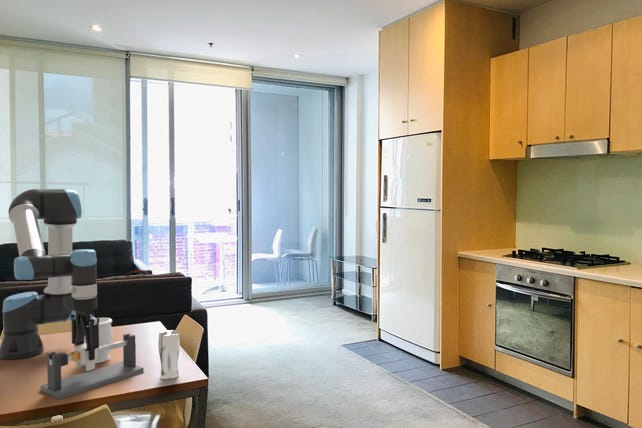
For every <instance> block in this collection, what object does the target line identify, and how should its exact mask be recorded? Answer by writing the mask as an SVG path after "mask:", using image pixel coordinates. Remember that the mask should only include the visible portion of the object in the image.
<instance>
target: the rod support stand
mask: <svg viewBox="0 0 642 428" xmlns="http://www.w3.org/2000/svg"><path fill="white" fill-rule="evenodd" d="M127 339H128V345H126V346H123V347H122V348H123V349H122V351H123V353H122V355H123V358H122V359H123V361H120V362H116V363H113V364H109V365H107V366H102V367H100V368H95V369H92V370H89V371H86V372H83V373H80V374H76V375H75V374H74V375H72V376H69V377H66V378H62V366H61V354H59V353H56V351H52V352H48V353H46V354H47V355H46V356H47V361H46V362H47V363H46V365H47V366H46V367H47V369H46V370H47V383H45V384H42V385H40V386H39V389H40V390H39V391H41V392H43V393H45V394H47V395H49V396H51V397H53V398H56V399H58V400H62V399H65V398H67V397H72V396H74V395H77V394H81V393H83V392H86V391H90V390H93V389H97V388H98V387H103V386H105V385H108V384H110V383H114V382H118V381H121V380H123V379H126V378H130V377H133V376H136V375H139V374H142V373H144V368H145V367H143V366H140V365H137V361H136V360H137V357H136V356H137V352H136V349H137V348H136V344H137V343H136V334H131V333H124V334H123V337H122V341H123V340H127ZM49 359H52V365H50V363H49Z"/></svg>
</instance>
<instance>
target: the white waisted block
mask: <svg viewBox="0 0 642 428" xmlns="http://www.w3.org/2000/svg"><path fill="white" fill-rule="evenodd" d="M180 340H181V339H180V332H179V331H178V330H173V329H171V330H169V329H168V330H162V331H160V332H159V333H158V347H157V348H158V354H159V359H160V360H159V361H160V367H161V368H160V374H159V378H160V379H161V380H173V379H176V378H178V377H179V375H180V374H179V368H178V364H179V362H178V361H179V356H180V347H181V342H180Z"/></svg>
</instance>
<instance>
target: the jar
mask: <svg viewBox="0 0 642 428" xmlns="http://www.w3.org/2000/svg"><path fill="white" fill-rule="evenodd" d="M98 318H99V346H103V345H107V344H111V343H113V327H112V323H113V319H112V318H110V317H98ZM86 327H88V326H86ZM84 342H85V343H86V339H85V337H84ZM110 353H111V350H108V351H104V352H100V353H97V360H96V361H95V364H103V363H105V362H107V361H109V360H110V358H111V357H110V355H109V354H110Z"/></svg>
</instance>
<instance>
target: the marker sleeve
mask: <svg viewBox="0 0 642 428" xmlns="http://www.w3.org/2000/svg"><path fill="white" fill-rule="evenodd" d="M86 349H87V346H86V343H85V344H81V345H77V346H75V345H74V346H73V352H75V351H77V352H80V359H79V360H75V361H73V362H74V363H76V362H77V363H80V364H85V363H86V358H85V350H86ZM96 360H97V349H95V361H96Z"/></svg>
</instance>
